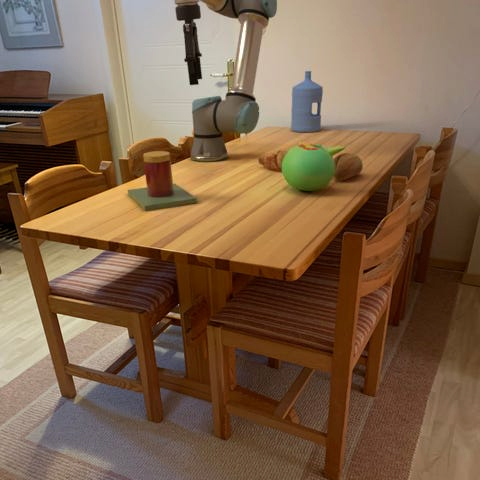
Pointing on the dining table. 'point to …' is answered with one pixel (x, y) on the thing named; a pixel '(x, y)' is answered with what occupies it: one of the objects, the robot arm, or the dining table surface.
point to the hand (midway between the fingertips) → (196, 82)
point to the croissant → (273, 161)
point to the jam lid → (156, 156)
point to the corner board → (161, 198)
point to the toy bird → (309, 166)
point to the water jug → (306, 105)
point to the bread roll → (347, 166)
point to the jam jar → (159, 179)
